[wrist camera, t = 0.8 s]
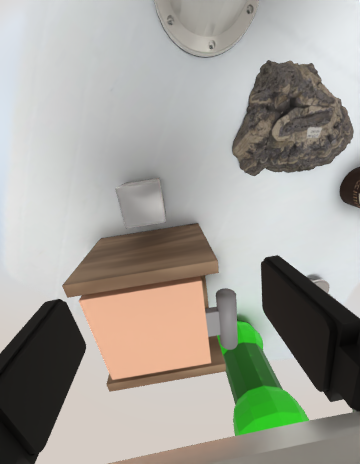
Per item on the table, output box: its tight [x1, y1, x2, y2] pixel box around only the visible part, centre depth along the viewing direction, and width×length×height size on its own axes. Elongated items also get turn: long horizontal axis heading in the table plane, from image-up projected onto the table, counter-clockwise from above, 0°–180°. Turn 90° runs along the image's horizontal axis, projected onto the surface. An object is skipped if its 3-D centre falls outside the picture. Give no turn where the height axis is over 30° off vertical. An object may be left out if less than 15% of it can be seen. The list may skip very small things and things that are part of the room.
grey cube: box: [115, 178, 165, 229], centre depth 28 cm, size 6×6×6 cm
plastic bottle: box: [217, 321, 309, 436], centre depth 31 cm, size 10×10×25 cm
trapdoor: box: [79, 276, 238, 380], centre depth 24 cm, size 14×18×2 cm
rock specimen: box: [233, 60, 354, 176], centre depth 27 cm, size 19×4×15 cm
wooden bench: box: [62, 223, 226, 391], centre depth 30 cm, size 19×17×13 cm
